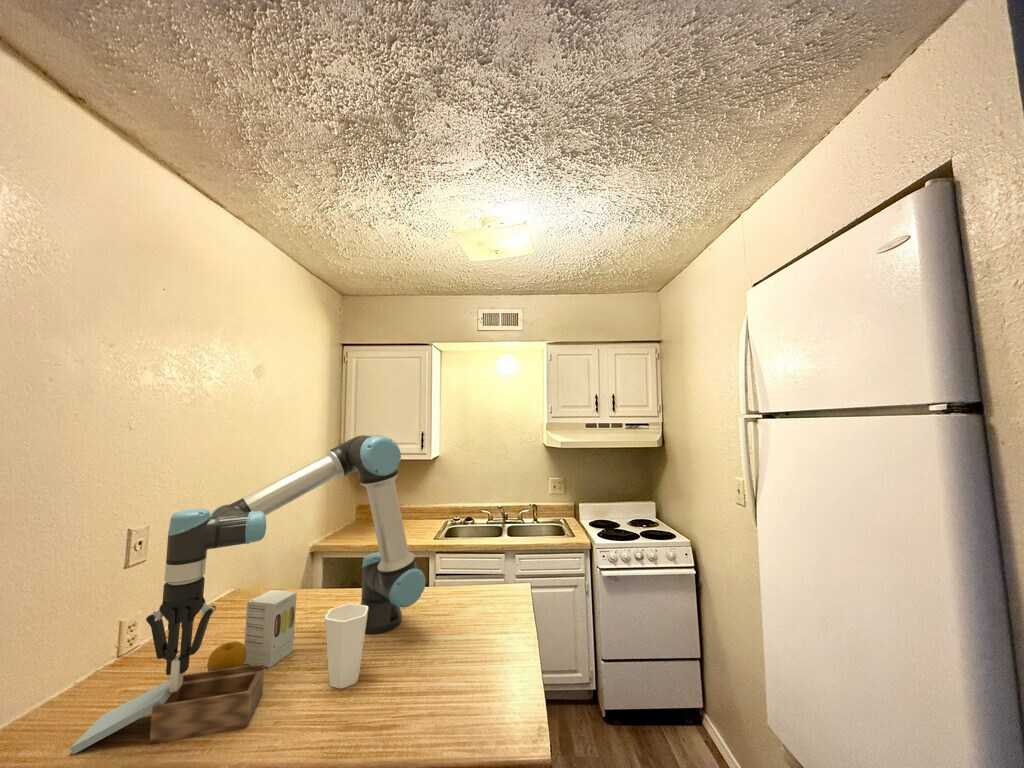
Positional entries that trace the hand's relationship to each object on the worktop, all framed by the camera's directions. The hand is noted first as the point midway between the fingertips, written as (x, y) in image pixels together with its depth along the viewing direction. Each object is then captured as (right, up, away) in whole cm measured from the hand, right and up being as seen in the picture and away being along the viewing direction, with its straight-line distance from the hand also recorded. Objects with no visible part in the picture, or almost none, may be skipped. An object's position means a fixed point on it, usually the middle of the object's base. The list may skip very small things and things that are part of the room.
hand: (175, 688), depth 94 cm
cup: (+32, -9, +16) cm, 37 cm away
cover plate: (-7, -4, -2) cm, 9 cm away
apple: (+1, -9, +16) cm, 18 cm away
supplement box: (+6, -11, +26) cm, 29 cm away
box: (+7, -8, +1) cm, 10 cm away
